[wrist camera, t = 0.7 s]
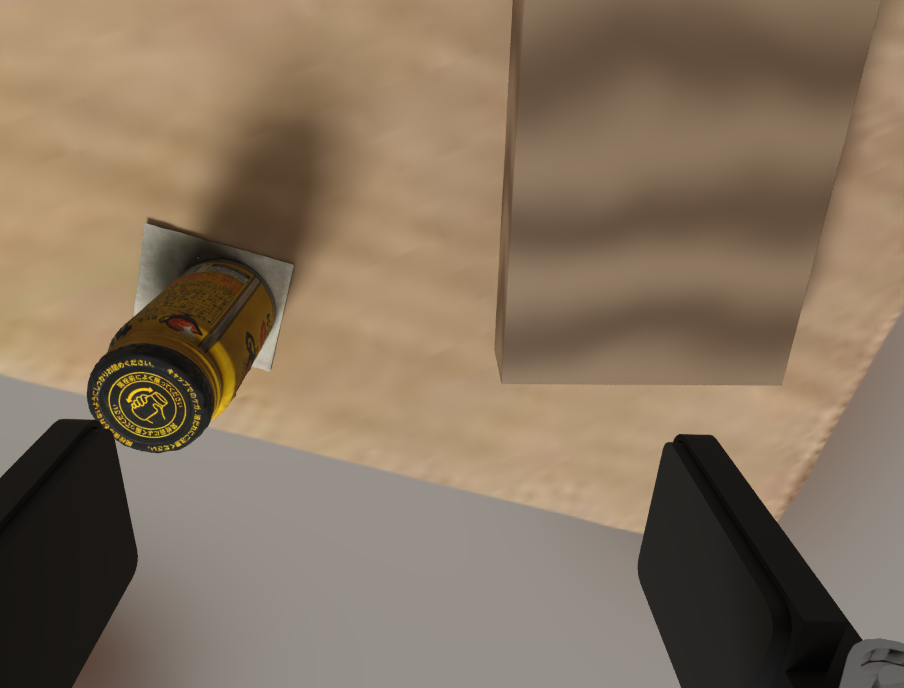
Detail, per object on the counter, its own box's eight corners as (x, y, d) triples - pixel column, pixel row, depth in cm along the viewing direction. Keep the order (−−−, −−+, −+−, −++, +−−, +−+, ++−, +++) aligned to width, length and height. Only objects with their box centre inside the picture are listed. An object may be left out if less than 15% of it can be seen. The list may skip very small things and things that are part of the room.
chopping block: (512, -14, 33) (525, -25, 28) (822, -6, 33) (885, -15, 29) (493, 347, 41) (501, 383, 36) (742, 348, 41) (781, 385, 37)
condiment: (270, 370, 40) (211, 487, 30) (131, 334, 39) (16, 443, 28) (294, 263, 38) (239, 348, 27) (146, 221, 36) (24, 292, 25)
